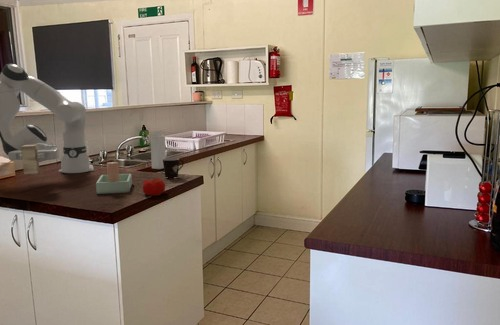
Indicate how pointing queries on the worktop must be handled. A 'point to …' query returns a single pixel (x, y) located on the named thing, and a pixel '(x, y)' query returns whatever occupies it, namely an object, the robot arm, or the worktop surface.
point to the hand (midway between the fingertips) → (29, 157)
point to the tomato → (153, 187)
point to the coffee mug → (171, 167)
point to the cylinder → (113, 171)
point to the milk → (158, 150)
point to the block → (30, 159)
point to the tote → (114, 184)
